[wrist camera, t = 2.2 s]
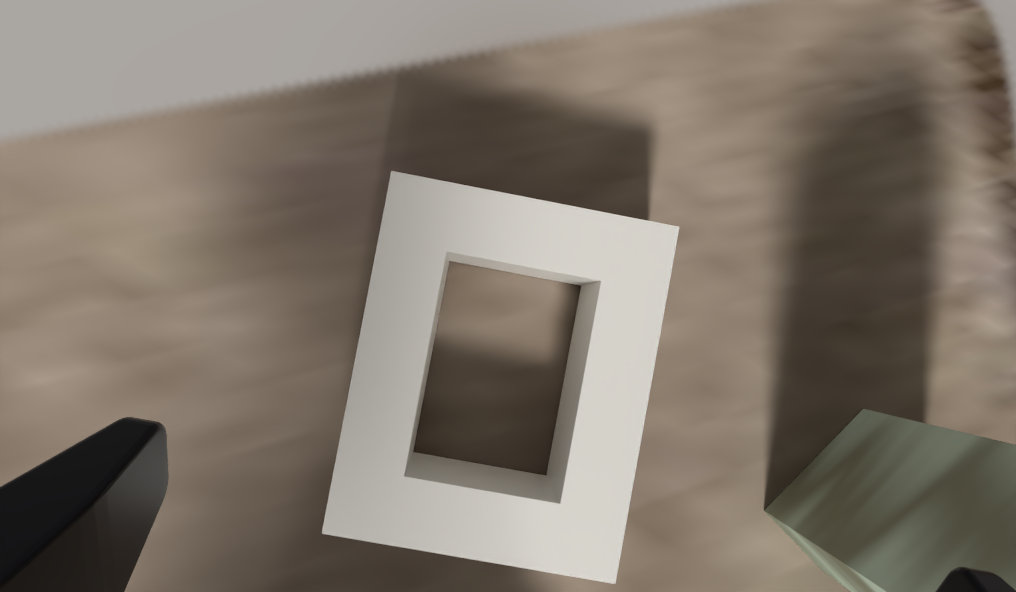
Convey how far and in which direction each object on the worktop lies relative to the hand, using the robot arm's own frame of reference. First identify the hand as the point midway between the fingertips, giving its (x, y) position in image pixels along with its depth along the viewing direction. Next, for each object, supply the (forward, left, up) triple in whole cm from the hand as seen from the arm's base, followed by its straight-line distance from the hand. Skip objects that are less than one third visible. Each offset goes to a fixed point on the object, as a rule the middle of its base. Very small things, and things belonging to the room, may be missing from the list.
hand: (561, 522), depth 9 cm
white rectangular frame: (0, 0, -18) cm, 18 cm away
